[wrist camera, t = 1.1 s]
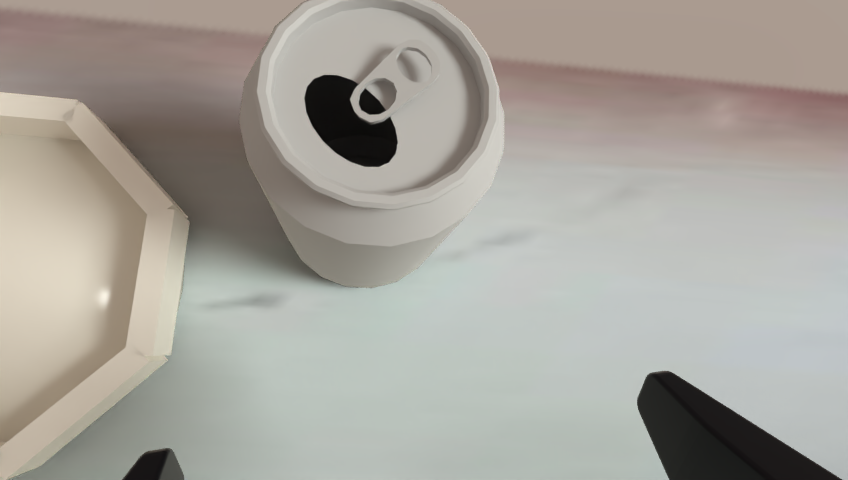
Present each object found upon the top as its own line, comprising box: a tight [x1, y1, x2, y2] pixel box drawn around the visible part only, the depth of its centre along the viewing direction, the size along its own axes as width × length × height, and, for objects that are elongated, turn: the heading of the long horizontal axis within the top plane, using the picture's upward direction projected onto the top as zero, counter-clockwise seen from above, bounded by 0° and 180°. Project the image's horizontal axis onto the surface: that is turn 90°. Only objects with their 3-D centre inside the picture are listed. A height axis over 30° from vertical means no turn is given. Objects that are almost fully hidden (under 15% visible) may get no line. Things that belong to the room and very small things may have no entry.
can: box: [239, 0, 504, 288], centre depth 18 cm, size 8×8×12 cm
